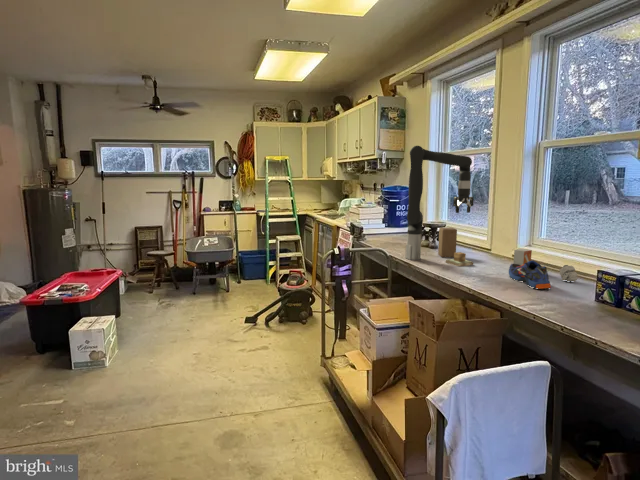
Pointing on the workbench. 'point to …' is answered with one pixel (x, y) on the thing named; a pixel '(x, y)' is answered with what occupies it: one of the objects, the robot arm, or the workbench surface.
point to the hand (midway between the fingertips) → (462, 212)
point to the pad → (456, 263)
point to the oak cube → (459, 256)
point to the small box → (522, 256)
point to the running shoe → (530, 274)
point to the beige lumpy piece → (568, 273)
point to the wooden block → (447, 241)
